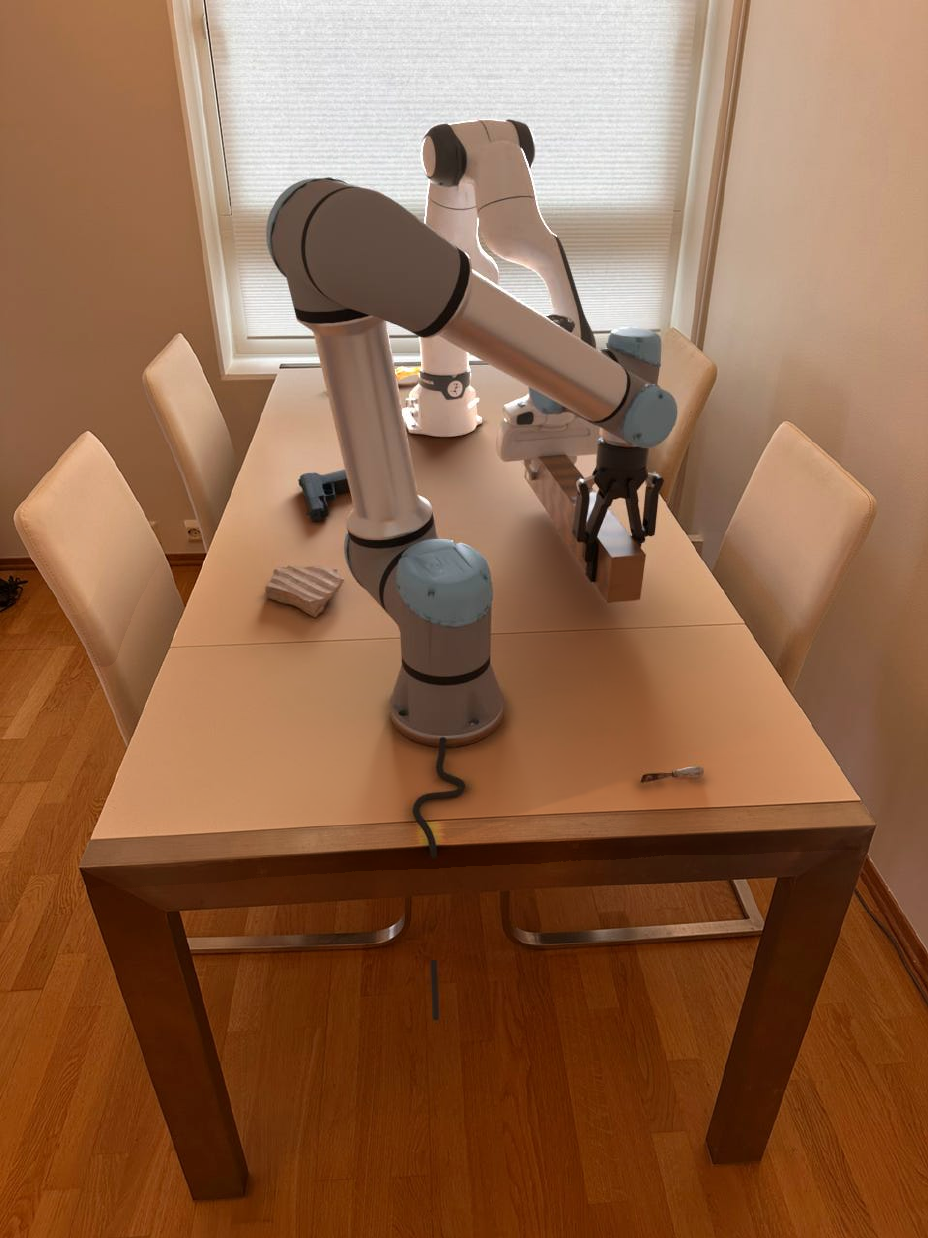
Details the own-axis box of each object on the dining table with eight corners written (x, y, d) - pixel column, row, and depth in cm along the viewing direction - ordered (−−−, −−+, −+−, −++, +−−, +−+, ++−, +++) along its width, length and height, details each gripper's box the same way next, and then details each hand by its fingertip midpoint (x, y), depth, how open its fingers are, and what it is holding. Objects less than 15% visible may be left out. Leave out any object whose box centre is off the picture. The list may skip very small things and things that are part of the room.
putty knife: (703, 777, 109) (705, 767, 109) (642, 788, 108) (644, 777, 107) (700, 772, 110) (702, 762, 109) (639, 782, 109) (640, 771, 108)
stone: (354, 583, 150) (352, 570, 149) (317, 618, 141) (316, 605, 140) (288, 570, 155) (286, 557, 153) (249, 603, 145) (246, 590, 144)
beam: (640, 599, 138) (646, 554, 134) (607, 603, 137) (612, 557, 133) (550, 475, 180) (552, 438, 176) (524, 477, 179) (526, 439, 175)
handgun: (369, 516, 174) (308, 523, 171) (354, 480, 188) (297, 486, 185) (368, 501, 172) (306, 508, 169) (353, 466, 186) (295, 472, 183)
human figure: (326, 388, 241) (325, 373, 239) (370, 367, 255) (369, 353, 253) (385, 401, 233) (384, 386, 231) (427, 379, 247) (427, 365, 245)
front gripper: (672, 426, 136) (653, 560, 148) (556, 433, 133) (546, 570, 145) (693, 443, 130) (671, 582, 142) (571, 451, 126) (560, 593, 139)
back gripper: (599, 399, 169) (594, 467, 176) (494, 406, 166) (493, 475, 173) (610, 409, 164) (604, 479, 171) (502, 417, 160) (501, 489, 168)
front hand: (608, 576), depth 143 cm, fingers closed on beam, 5 cm apart
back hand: (547, 478), depth 172 cm, fingers closed on beam, 5 cm apart
